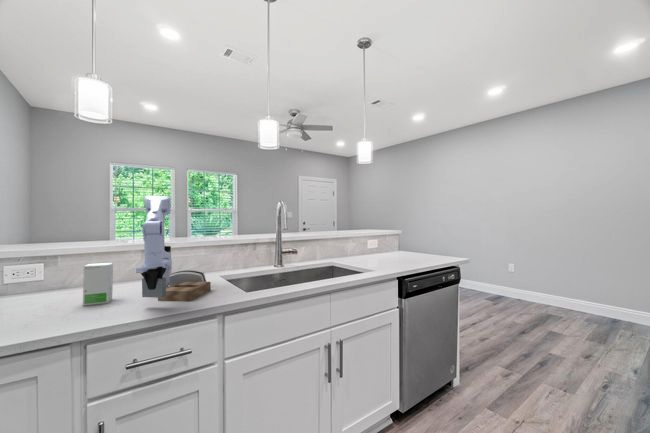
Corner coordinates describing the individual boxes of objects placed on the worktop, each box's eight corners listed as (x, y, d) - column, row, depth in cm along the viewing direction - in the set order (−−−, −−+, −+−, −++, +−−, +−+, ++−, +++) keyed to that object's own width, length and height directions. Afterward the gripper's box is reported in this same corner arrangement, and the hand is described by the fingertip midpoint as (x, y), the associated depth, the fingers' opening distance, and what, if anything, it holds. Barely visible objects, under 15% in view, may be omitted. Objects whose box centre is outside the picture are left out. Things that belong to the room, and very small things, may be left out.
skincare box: (82, 306, 104) (81, 266, 104) (88, 301, 110) (88, 263, 110) (109, 303, 108) (108, 264, 108) (113, 298, 114) (113, 261, 114)
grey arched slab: (208, 284, 136) (206, 267, 132) (205, 290, 131) (202, 272, 128) (174, 285, 134) (170, 268, 131) (169, 291, 130) (165, 273, 126)
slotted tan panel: (157, 300, 110) (157, 290, 110) (182, 289, 126) (182, 281, 126) (190, 301, 109) (190, 291, 109) (210, 290, 125) (210, 281, 125)
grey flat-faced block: (142, 297, 101) (142, 278, 101) (146, 295, 103) (146, 277, 103) (162, 297, 100) (161, 278, 100) (165, 295, 102) (165, 277, 102)
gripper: (149, 255, 94) (149, 294, 94) (175, 250, 108) (176, 283, 108) (130, 255, 95) (130, 293, 95) (159, 250, 109) (159, 283, 109)
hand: (153, 288), depth 102 cm, fingers closed on grey flat-faced block, 2 cm apart
